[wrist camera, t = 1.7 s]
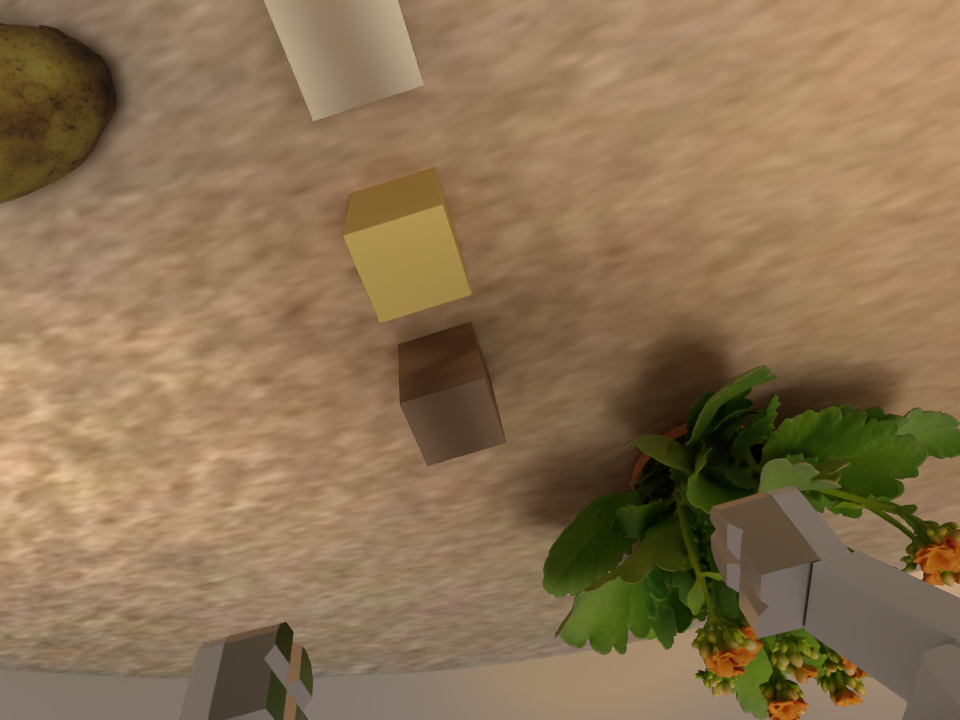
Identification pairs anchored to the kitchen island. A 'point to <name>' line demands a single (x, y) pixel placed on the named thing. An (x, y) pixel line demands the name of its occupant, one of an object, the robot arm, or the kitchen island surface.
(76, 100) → the potato
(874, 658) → the robot arm
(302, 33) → the birch block
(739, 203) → the kitchen island surface
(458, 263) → the mustard block
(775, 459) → the potted flower
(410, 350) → the walnut block
